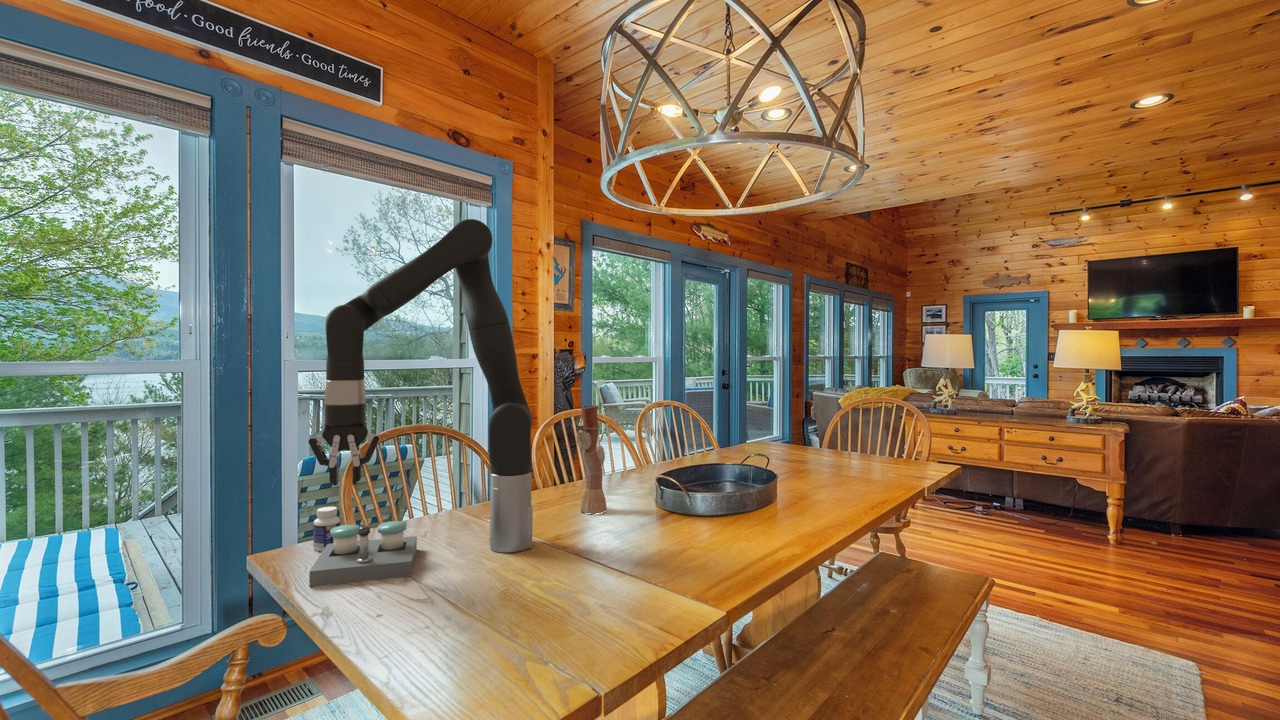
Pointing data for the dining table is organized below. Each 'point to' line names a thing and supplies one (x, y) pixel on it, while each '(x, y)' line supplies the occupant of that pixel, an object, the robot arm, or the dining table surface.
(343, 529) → the knob
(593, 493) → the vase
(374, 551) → the mount board
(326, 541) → the pill bottle
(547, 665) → the dining table surface
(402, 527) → the knob
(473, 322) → the robot arm
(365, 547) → the post
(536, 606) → the dining table surface
